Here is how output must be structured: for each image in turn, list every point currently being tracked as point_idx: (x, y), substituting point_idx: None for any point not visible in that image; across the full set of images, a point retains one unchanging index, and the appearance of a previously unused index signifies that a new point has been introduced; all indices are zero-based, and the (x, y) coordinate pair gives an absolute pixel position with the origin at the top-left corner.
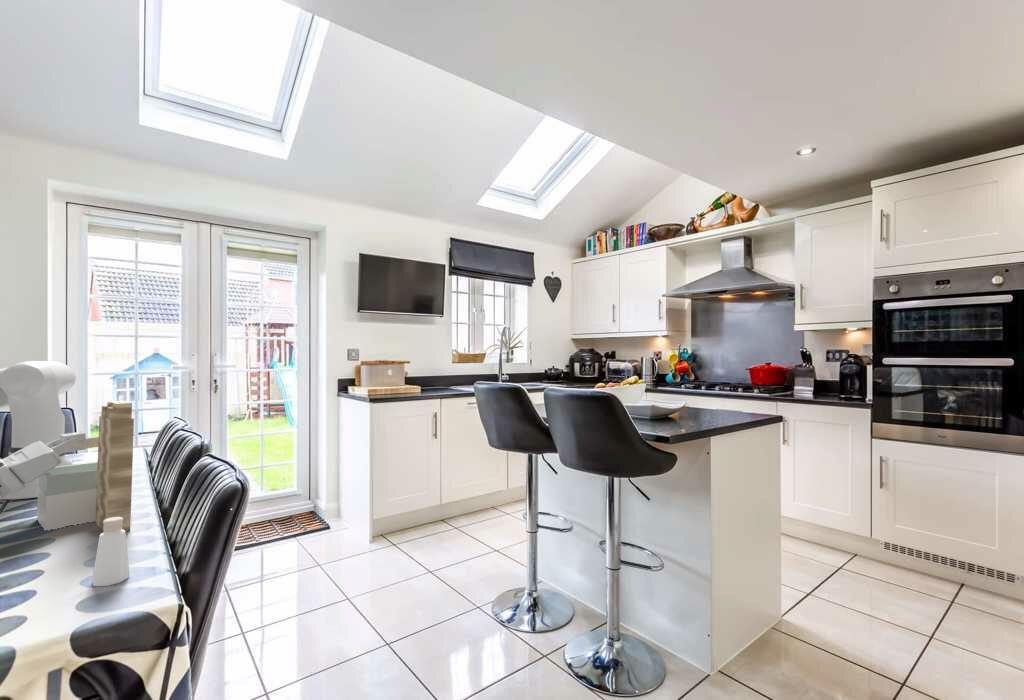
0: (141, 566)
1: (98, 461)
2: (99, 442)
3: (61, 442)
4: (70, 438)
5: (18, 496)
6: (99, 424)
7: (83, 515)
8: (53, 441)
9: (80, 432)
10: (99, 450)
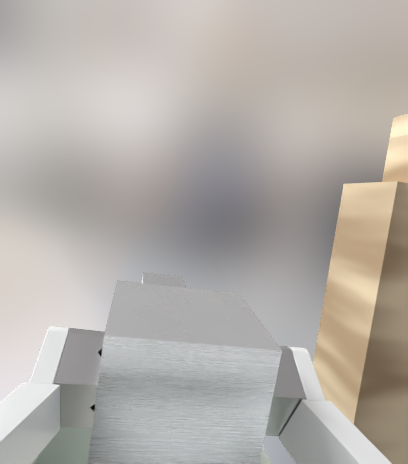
0: None
1: None
2: (392, 342)
3: (142, 417)
4: None
5: None
6: (398, 235)
7: None
8: (5, 440)
9: (158, 289)
10: (389, 387)
